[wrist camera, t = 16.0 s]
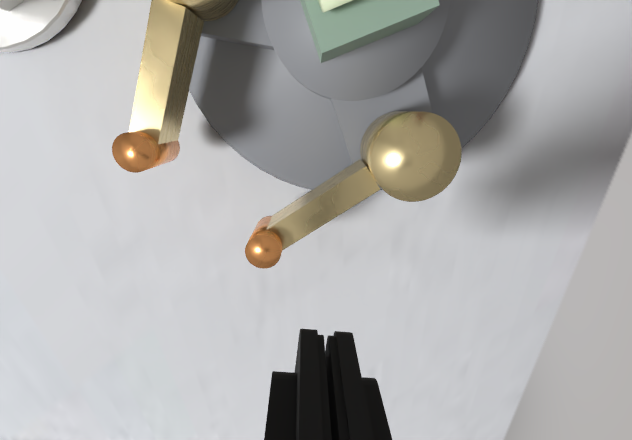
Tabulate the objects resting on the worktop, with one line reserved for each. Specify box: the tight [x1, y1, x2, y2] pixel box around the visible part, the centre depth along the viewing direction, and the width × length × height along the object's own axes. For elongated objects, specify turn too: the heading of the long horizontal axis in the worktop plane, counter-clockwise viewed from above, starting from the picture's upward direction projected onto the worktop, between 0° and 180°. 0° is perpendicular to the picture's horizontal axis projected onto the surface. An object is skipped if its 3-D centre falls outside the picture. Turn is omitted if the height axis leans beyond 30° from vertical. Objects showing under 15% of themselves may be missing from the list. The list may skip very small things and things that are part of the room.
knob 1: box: [112, 0, 238, 172], centre depth 15 cm, size 12×4×4 cm, turn 160°
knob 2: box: [245, 111, 461, 268], centre depth 17 cm, size 12×4×4 cm, turn 123°
